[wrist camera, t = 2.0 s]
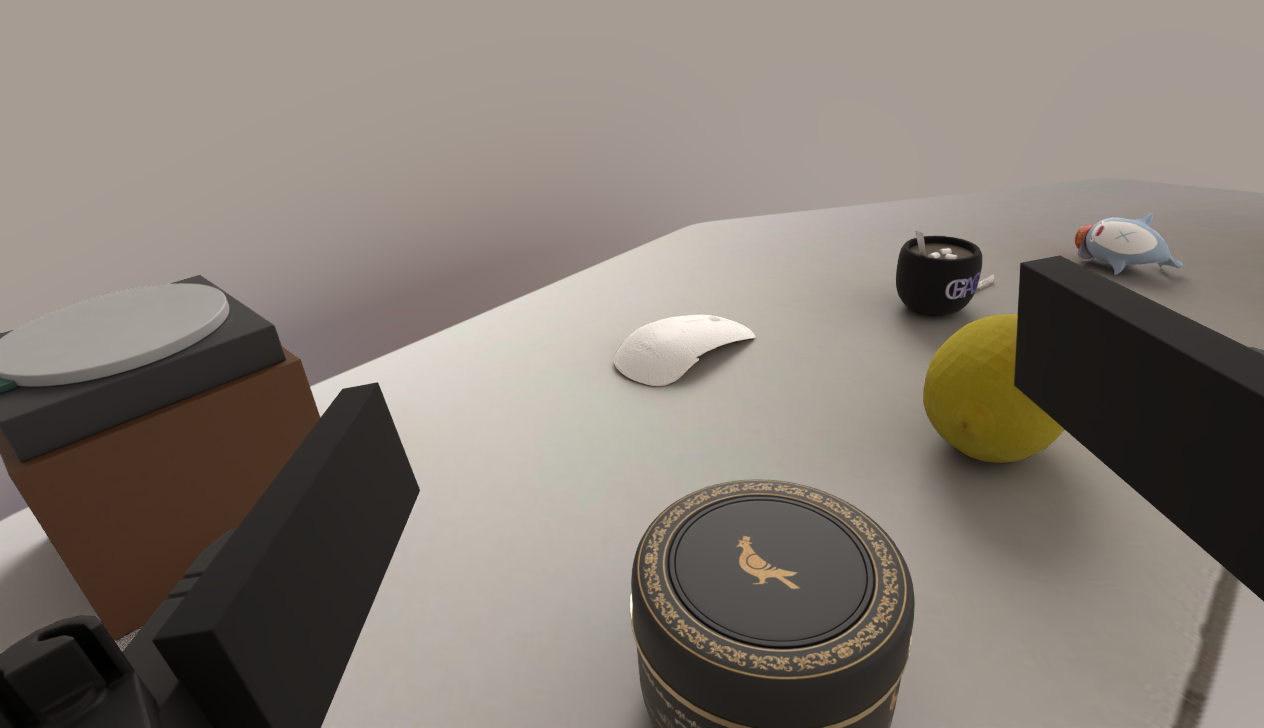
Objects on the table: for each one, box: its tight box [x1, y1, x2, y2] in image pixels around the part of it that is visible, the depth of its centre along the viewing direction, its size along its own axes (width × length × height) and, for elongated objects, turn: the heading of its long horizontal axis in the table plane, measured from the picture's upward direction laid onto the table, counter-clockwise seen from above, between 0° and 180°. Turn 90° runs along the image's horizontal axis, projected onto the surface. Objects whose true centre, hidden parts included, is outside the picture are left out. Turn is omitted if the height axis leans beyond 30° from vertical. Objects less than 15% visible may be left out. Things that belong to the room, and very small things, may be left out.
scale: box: [0, 275, 320, 640], centre depth 37 cm, size 12×12×13 cm
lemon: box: [923, 314, 1064, 463], centre depth 40 cm, size 11×8×8 cm
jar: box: [630, 480, 915, 728], centre depth 26 cm, size 10×10×8 cm
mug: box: [896, 231, 995, 315], centre depth 58 cm, size 12×6×7 cm, turn 124°
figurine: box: [1075, 213, 1182, 275], centre depth 62 cm, size 5×8×4 cm
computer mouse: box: [614, 315, 755, 386], centre depth 54 cm, size 7×12×2 cm, turn 134°
